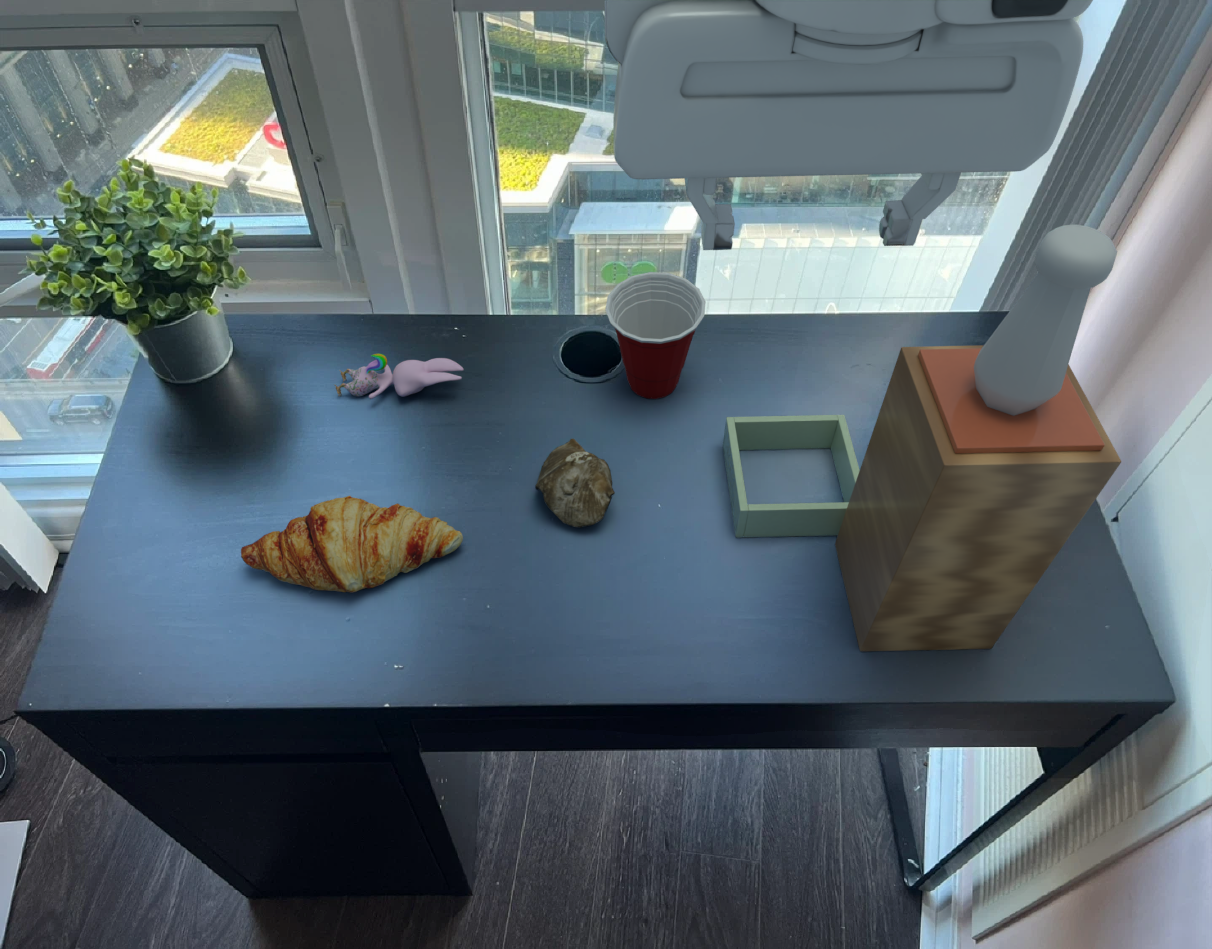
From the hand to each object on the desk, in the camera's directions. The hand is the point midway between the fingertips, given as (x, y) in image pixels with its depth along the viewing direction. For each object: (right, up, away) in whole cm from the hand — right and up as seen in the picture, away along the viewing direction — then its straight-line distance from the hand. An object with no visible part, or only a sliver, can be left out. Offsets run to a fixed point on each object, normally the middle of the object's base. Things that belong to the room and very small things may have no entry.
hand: (805, 241), depth 44 cm
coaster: (+18, -7, +16) cm, 25 cm away
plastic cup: (-5, -2, +55) cm, 56 cm away
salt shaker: (+18, -7, +16) cm, 25 cm away
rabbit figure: (-35, -2, +55) cm, 65 cm away
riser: (+18, -24, +36) cm, 47 cm away
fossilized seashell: (-14, -15, +45) cm, 49 cm away
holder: (+9, -14, +45) cm, 48 cm away
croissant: (-35, -21, +40) cm, 57 cm away
